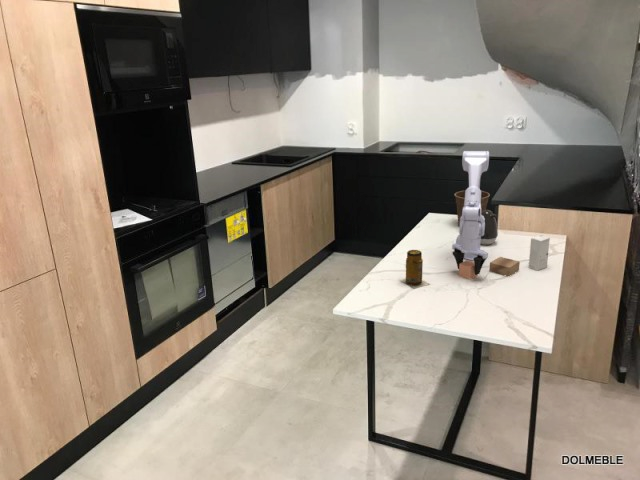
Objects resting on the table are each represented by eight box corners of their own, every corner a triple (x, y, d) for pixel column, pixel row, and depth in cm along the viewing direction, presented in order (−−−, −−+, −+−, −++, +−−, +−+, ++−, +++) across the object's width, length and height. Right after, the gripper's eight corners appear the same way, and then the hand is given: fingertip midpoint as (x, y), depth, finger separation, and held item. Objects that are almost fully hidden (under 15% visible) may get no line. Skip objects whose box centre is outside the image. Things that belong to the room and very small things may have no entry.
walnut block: (489, 272, 195) (489, 262, 193) (499, 266, 200) (500, 256, 198) (508, 277, 189) (509, 267, 188) (518, 271, 194) (519, 261, 193)
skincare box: (538, 270, 193) (541, 241, 189) (527, 267, 196) (530, 238, 192) (547, 267, 196) (550, 237, 192) (537, 263, 199) (540, 234, 195)
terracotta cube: (458, 275, 192) (459, 263, 191) (466, 272, 195) (467, 260, 194) (470, 279, 189) (470, 267, 187) (477, 275, 191) (478, 263, 190)
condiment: (416, 276, 193) (416, 247, 189) (430, 284, 186) (430, 254, 182) (400, 280, 190) (400, 251, 186) (413, 288, 183) (414, 258, 179)
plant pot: (454, 231, 241) (456, 198, 236) (451, 221, 256) (453, 190, 251) (490, 231, 239) (492, 198, 233) (485, 221, 254) (487, 189, 248)
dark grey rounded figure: (485, 248, 218) (487, 214, 213) (468, 242, 226) (469, 209, 221) (502, 243, 222) (505, 210, 217) (485, 237, 231) (487, 205, 226)
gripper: (447, 235, 190) (446, 268, 194) (481, 244, 179) (478, 279, 183) (459, 231, 194) (457, 264, 198) (492, 239, 183) (490, 274, 188)
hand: (468, 271), depth 191 cm, fingers open, 7 cm apart
